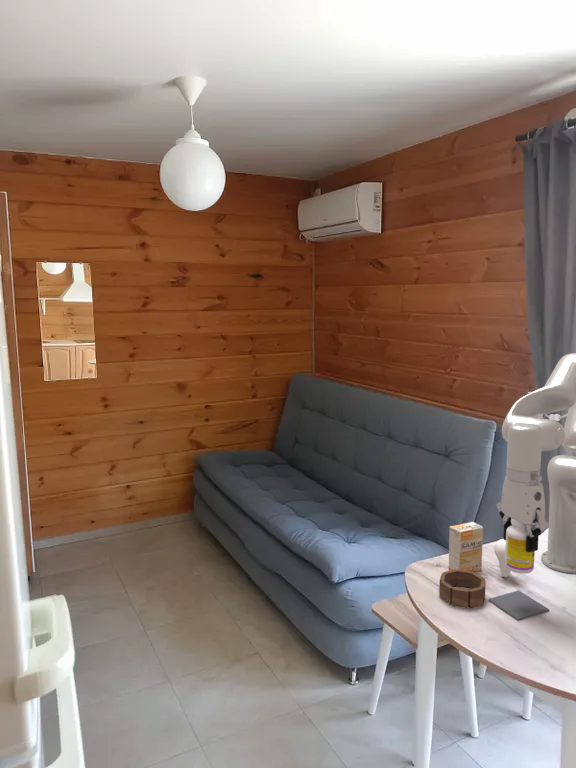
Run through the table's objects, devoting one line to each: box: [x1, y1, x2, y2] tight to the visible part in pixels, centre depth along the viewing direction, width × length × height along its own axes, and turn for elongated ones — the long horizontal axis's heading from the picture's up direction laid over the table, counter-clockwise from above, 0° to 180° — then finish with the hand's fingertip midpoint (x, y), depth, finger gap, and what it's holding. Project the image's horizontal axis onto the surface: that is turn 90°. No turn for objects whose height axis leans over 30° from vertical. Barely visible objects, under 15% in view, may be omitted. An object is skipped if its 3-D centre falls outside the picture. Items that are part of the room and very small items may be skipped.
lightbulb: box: [493, 538, 512, 579], centre depth 157 cm, size 6×6×11 cm
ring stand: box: [438, 569, 487, 609], centre depth 149 cm, size 11×11×4 cm
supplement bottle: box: [505, 518, 536, 574], centre depth 141 cm, size 7×7×13 cm
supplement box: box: [448, 521, 484, 573], centre depth 162 cm, size 8×5×13 cm, turn 113°
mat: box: [488, 589, 550, 622], centre depth 144 cm, size 10×10×1 cm
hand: (520, 544), depth 141 cm, fingers closed on supplement bottle, 6 cm apart
